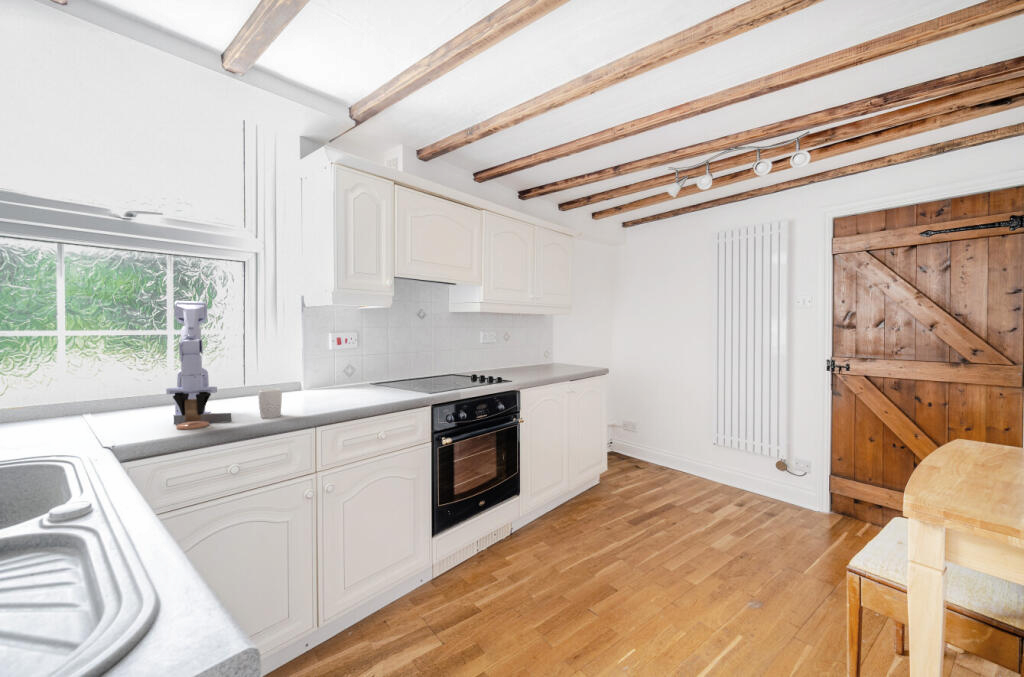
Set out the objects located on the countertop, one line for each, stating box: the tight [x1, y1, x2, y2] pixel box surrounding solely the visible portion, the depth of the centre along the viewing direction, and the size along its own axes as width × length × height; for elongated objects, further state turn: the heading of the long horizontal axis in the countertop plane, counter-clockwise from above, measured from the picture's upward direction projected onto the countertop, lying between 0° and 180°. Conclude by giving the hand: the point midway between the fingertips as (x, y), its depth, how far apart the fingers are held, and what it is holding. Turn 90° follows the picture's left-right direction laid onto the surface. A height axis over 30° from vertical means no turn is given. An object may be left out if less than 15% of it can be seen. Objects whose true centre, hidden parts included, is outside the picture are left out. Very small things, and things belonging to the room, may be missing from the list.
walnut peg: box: [185, 399, 201, 421], centre depth 148 cm, size 4×4×7 cm
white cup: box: [257, 388, 283, 419], centre depth 165 cm, size 8×8×10 cm
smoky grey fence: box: [173, 412, 232, 425], centre depth 155 cm, size 18×1×3 cm, turn 100°
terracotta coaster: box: [175, 421, 210, 431], centre depth 149 cm, size 9×9×1 cm
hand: (192, 414), depth 148 cm, fingers closed on walnut peg, 4 cm apart
